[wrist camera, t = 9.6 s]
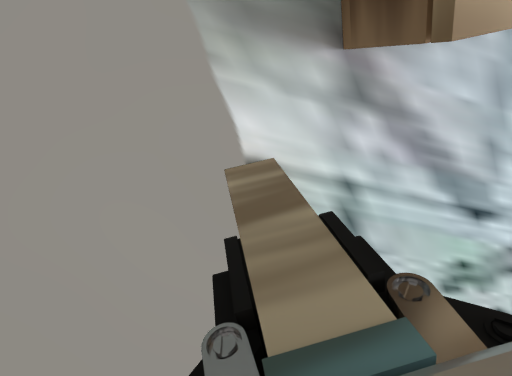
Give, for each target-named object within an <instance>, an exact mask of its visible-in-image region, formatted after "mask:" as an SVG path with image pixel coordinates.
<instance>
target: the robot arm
mask: <svg viewBox="0 0 512 376" xmlns="http://www.w3.org/2000/svg"><path fill="white" fill-rule="evenodd" d="M319 218H320V219H321V221H322V222H323V223H324V225H325V226H326V227H327V228H328V230H329V231H330V232H331V234H332V235H333V236H334V238H335V239H336V240H337V242H338V243H339V244H340V245H341V247H342V248H343V249H344V251H345V252H346V253H347V255H348V256H349V257H350V258H351V260H352V261H353V262H354V264H355V265H356V266H357V268H358V269H359V270H360V272H361V273H362V274H363V275H364V277H365V278H366V279H367V281H368V282H369V283H370V285H371V286H372V287H373V289H374V290H375V291H376V292H377V294H378V295H379V296H380V298H381V299H382V300H383V302H384V303H385V304H386V306H387V307H388V308H389V309H390V311H391V312H392V313H393V315H394V316H395V317H396V319H400V318H403V317H407V319H408V320H409V321H410V322H411V324H412V325H413V326H414V327H415V329H416V330H417V331H418V332H419V333H420V335H421V336H422V337H423V338H424V340H425V341H426V342H427V343H428V345H429V346H430V347H431V348H432V350H433V351H434V352H435V353H436V355H437V358H436V364H435V365H432V366H429V367H426V368H422V369H419V370H416V371H413V372H409V373H406V374H403V375H400V376H512V315H510V314H507V313H504V312H500V311H496V310H493V309H489V308H485V307H482V306H478V305H474V304H471V303H467V302H463V301H460V300H456V299H452V298H448V297H445V296H442V295H441V293H440V292H439V291H438V290H437V289H436V288H435V286H434V285H433V284H432V283H431V282H430V281H429V280H427V279H426V278H424V277H422V276H420V275H416V274H412V273H399V274H396V273H395V272H394V271H393V270H392V269H391V268H390V267H389V266H388V265H387V263H386V262H385V261H384V260H383V259H382V258H381V257H380V256H379V255H378V254H377V253H376V252H375V250H374V249H373V248H372V247H371V246H370V245H369V244H368V243H367V242H366V241H365V240H364V239H363V238H362V237H361V236H356V237H355V236H354V235H353V234H352V233H351V232H350V231H349V230H348V228H347V227H346V226H345V225H344V224H343V223H342V222H341V220H340V219H339V218H338V217H337V216H336V215H335V214H334V213H333V212H332V211H330V212H326V213H323V214H319ZM224 243H225V249H226V257H227V264H228V271H225V272H222V273H218V274H214V275H213V293H214V309H215V325H216V327H214V328H213V329H211V330H210V331H209V332H208V333H207V335H206V336H205V337H204V339H203V342H202V350H201V352H202V360H201V361H200V363H199V364H198V365H197V366H196V367H195V369H194V370H193V371H192V372H191V374H190V375H189V376H265V373H264V368H263V363H262V359H264V358H267V357H268V355H267V350H266V346H265V342H264V338H263V333H262V329H261V325H260V320H259V316H258V312H257V308H256V303H255V299H254V295H253V290H252V286H251V282H250V278H249V273H248V269H247V265H246V261H245V256H244V252H243V248H242V243H241V239H237V236H234V237H230V238H226V239H224Z"/></svg>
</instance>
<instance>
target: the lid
mask: <svg viewBox="0 0 512 376" xmlns="http://www.w3.org/2000/svg"><path fill="white" fill-rule="evenodd" d="M511 28H512V0H433V17H432V34H431V43H436V42H449V41H456V40H460V39H465V38H470V37H474V36H479V35H483V34H488V33H493V32H497V31H502V30H507V29H511Z"/></svg>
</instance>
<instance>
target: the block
mask: <svg viewBox="0 0 512 376" xmlns="http://www.w3.org/2000/svg"><path fill="white" fill-rule="evenodd" d="M224 171H225V175H226V179H227V183H228V187H229V192H230V196H231V200H232V205H233V209H234V213H235V218H236V222H237V226H238V230H239V235H240V239H241V243H242V248H243V252H244V256H245V261H246V265H247V269H248V273H249V278H250V282H251V286H252V290H253V295H254V299H255V303H256V308H257V312H258V316H259V320H260V325H261V329H262V333H263V338H264V342H265V346H266V350H267V355H268V357H267V358H264V359H262V363H263V368H264V373H265V376H400V375H403V374H406V373H409V372H413V371H416V370H419V369H422V368H426V367H429V366H432V365H435V364H436V358H437V355H436V353H435V352H434V351H433V350H432V348H431V347H430V346H429V345H428V343H427V342H426V341H425V340H424V338H423V337H422V336H421V335H420V333H419V332H418V331H417V330H416V329H415V327H414V326H413V325H412V324H411V322H410V321H409V320H408V319H407V317H403V318H400V319H396V317H395V316H394V315H393V313H392V312H391V311H390V309H389V308H388V307H387V306H386V304H385V303H384V302H383V300H382V299H381V298H380V296H379V295H378V294H377V292H376V291H375V290H374V289H373V287H372V286H371V285H370V283H369V282H368V281H367V279H366V278H365V277H364V275H363V274H362V273H361V272H360V270H359V269H358V268H357V266H356V265H355V264H354V262H353V261H352V260H351V258H350V257H349V256H348V255H347V253H346V252H345V251H344V249H343V248H342V247H341V245H340V244H339V243H338V242H337V240H336V239H335V238H334V236H333V235H332V234H331V232H330V231H329V230H328V228H327V227H326V226H325V225H324V223H323V222H322V221H321V219H320V218H319V217H318V215H317V214H316V213H315V211H314V210H313V209H312V208H311V206H310V205H309V204H308V202H307V201H306V200H305V198H304V197H303V196H302V195H301V193H300V192H299V191H298V189H297V188H296V187H295V185H294V184H293V183H292V181H291V180H290V179H289V178H288V176H287V175H286V174H285V172H284V171H283V170H282V168H281V167H280V166H279V164H278V163H277V162H276V161H275V159H274V158H271V159H267V160H263V161H259V162H254V163H250V164H246V165H242V166H238V167H233V168H229V169H225V170H224Z"/></svg>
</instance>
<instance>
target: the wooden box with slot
mask: <svg viewBox="0 0 512 376" xmlns="http://www.w3.org/2000/svg"><path fill="white" fill-rule="evenodd" d="M341 10H342V28H343V46H344V49H356V48H369V47H383V46H396V45H409V44H423V43H429V42H431V34H432V17H433V0H341Z"/></svg>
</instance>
